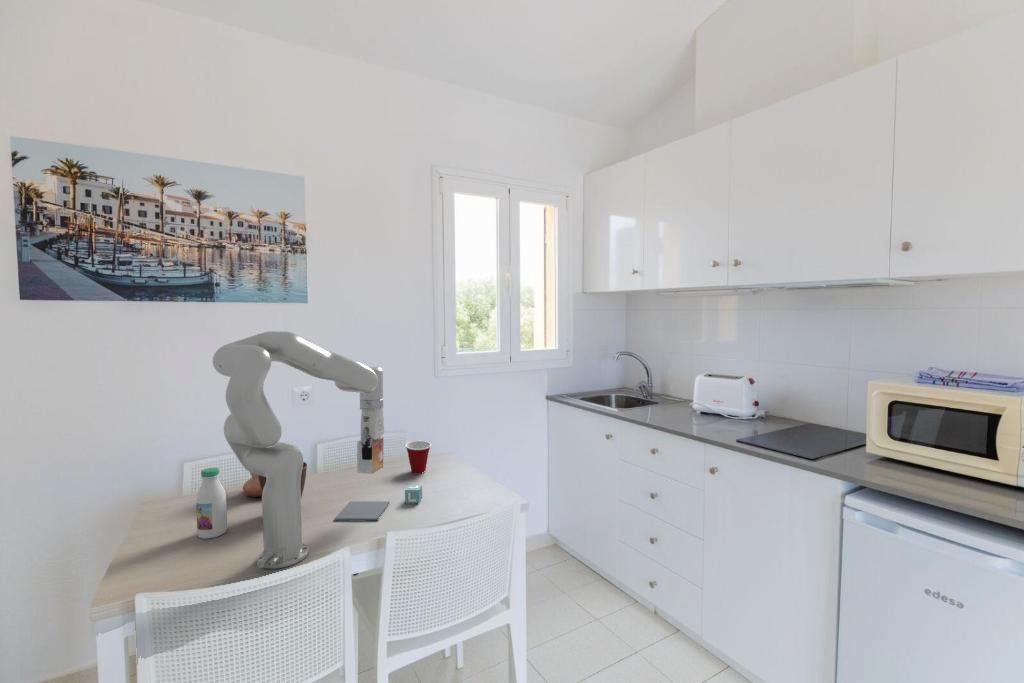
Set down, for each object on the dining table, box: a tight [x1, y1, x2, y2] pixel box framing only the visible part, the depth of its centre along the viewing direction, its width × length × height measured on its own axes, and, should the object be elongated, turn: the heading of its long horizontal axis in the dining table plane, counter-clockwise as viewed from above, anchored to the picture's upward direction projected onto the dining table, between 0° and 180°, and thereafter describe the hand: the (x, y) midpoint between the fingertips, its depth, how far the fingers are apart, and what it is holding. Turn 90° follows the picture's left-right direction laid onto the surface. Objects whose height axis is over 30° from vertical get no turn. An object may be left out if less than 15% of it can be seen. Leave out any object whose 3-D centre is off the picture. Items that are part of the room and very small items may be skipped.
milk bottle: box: [195, 467, 228, 540], centre depth 143 cm, size 8×8×20 cm
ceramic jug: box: [242, 472, 262, 498], centre depth 177 cm, size 18×14×14 cm
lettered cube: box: [404, 484, 423, 504], centre depth 168 cm, size 5×5×5 cm
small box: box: [356, 436, 384, 475], centre depth 157 cm, size 8×6×10 cm
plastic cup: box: [405, 440, 432, 474], centre depth 200 cm, size 11×11×12 cm
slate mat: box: [334, 500, 390, 522], centre depth 159 cm, size 14×14×1 cm
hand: (372, 455), depth 157 cm, fingers closed on small box, 8 cm apart
